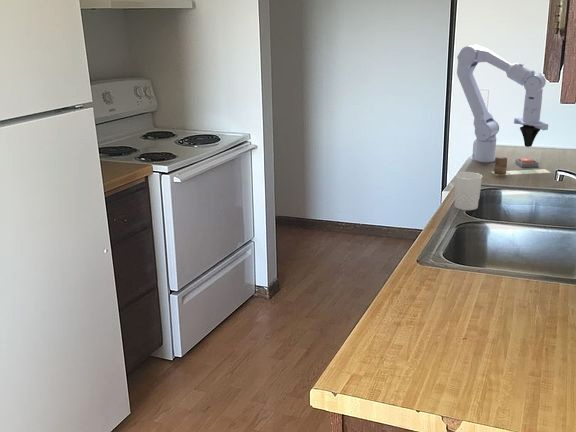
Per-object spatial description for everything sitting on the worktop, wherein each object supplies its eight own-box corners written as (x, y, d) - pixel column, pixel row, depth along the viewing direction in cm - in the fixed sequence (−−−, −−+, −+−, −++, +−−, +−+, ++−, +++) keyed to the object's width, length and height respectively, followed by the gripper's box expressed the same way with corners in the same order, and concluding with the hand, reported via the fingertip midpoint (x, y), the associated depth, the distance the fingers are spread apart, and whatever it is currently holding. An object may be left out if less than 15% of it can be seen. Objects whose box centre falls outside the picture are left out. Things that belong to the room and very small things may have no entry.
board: (487, 172, 223) (487, 169, 223) (541, 169, 224) (542, 167, 224) (498, 180, 213) (498, 177, 213) (554, 177, 214) (555, 174, 214)
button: (518, 164, 229) (518, 158, 228) (529, 164, 229) (530, 157, 229) (523, 167, 225) (523, 161, 224) (535, 167, 225) (535, 160, 224)
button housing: (515, 165, 230) (515, 159, 229) (530, 165, 230) (531, 158, 230) (521, 170, 224) (522, 163, 224) (537, 169, 225) (538, 162, 224)
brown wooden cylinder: (492, 171, 220) (493, 156, 218) (503, 171, 220) (504, 156, 218) (496, 174, 216) (497, 159, 214) (507, 174, 216) (509, 159, 214)
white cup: (477, 202, 191) (479, 171, 188) (482, 211, 184) (484, 178, 181) (451, 202, 192) (452, 171, 189) (455, 211, 185) (457, 179, 181)
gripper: (508, 107, 225) (505, 143, 230) (538, 113, 213) (534, 151, 217) (523, 105, 228) (520, 141, 232) (554, 111, 215) (549, 149, 220)
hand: (528, 146), depth 225 cm, fingers closed
